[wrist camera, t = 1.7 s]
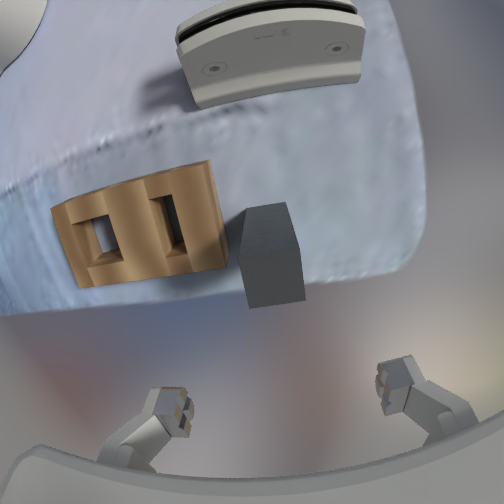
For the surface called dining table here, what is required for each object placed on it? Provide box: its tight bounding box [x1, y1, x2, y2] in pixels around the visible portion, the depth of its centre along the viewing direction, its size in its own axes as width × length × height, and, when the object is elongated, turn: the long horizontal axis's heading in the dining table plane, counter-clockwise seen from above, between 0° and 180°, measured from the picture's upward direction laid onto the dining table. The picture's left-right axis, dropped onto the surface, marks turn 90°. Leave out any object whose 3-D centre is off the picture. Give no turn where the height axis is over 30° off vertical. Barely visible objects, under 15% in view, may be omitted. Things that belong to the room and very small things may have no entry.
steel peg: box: [238, 202, 306, 308], centre depth 25 cm, size 4×4×12 cm
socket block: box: [50, 160, 230, 288], centre depth 29 cm, size 18×10×4 cm, turn 100°
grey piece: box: [175, 0, 366, 110], centre depth 20 cm, size 17×5×10 cm, turn 103°
